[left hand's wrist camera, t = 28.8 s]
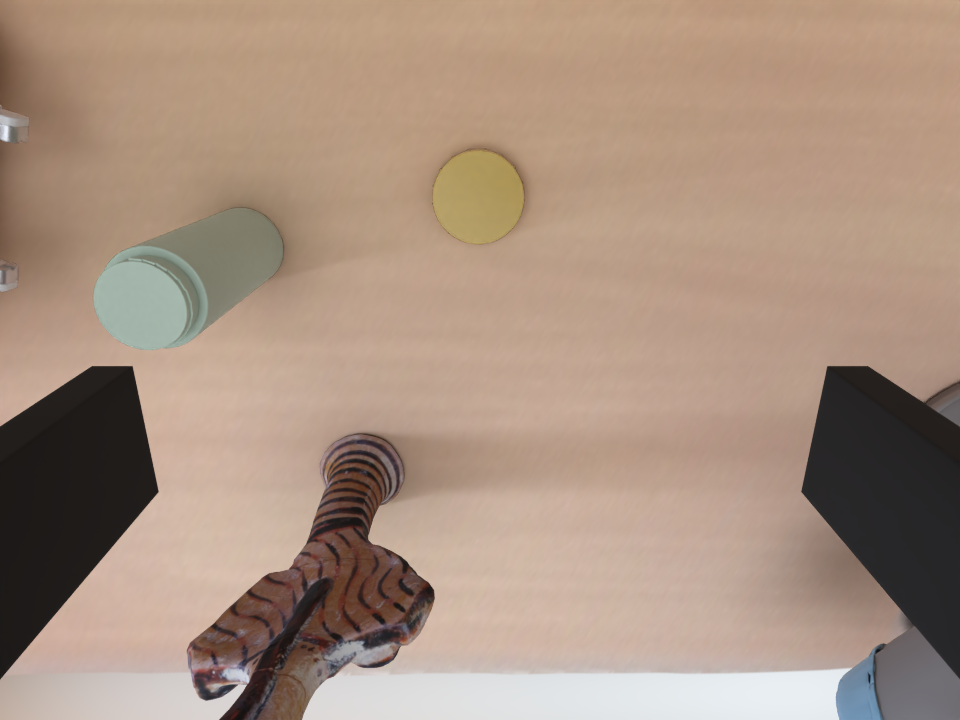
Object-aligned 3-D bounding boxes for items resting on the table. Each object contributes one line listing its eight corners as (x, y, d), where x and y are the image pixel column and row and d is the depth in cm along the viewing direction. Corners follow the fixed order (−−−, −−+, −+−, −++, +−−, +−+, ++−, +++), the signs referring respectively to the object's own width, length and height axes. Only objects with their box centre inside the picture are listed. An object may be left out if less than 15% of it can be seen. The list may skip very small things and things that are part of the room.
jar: (285, 285, 48) (201, 361, 34) (210, 281, 48) (92, 355, 33) (281, 209, 46) (190, 255, 32) (203, 205, 46) (74, 248, 31)
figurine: (302, 531, 56) (122, 956, 28) (258, 459, 53) (11, 846, 25) (460, 476, 54) (438, 872, 26) (422, 397, 51) (353, 743, 23)
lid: (423, 159, 45) (421, 161, 43) (513, 138, 44) (514, 139, 43) (445, 248, 47) (443, 253, 45) (531, 229, 47) (533, 233, 45)
